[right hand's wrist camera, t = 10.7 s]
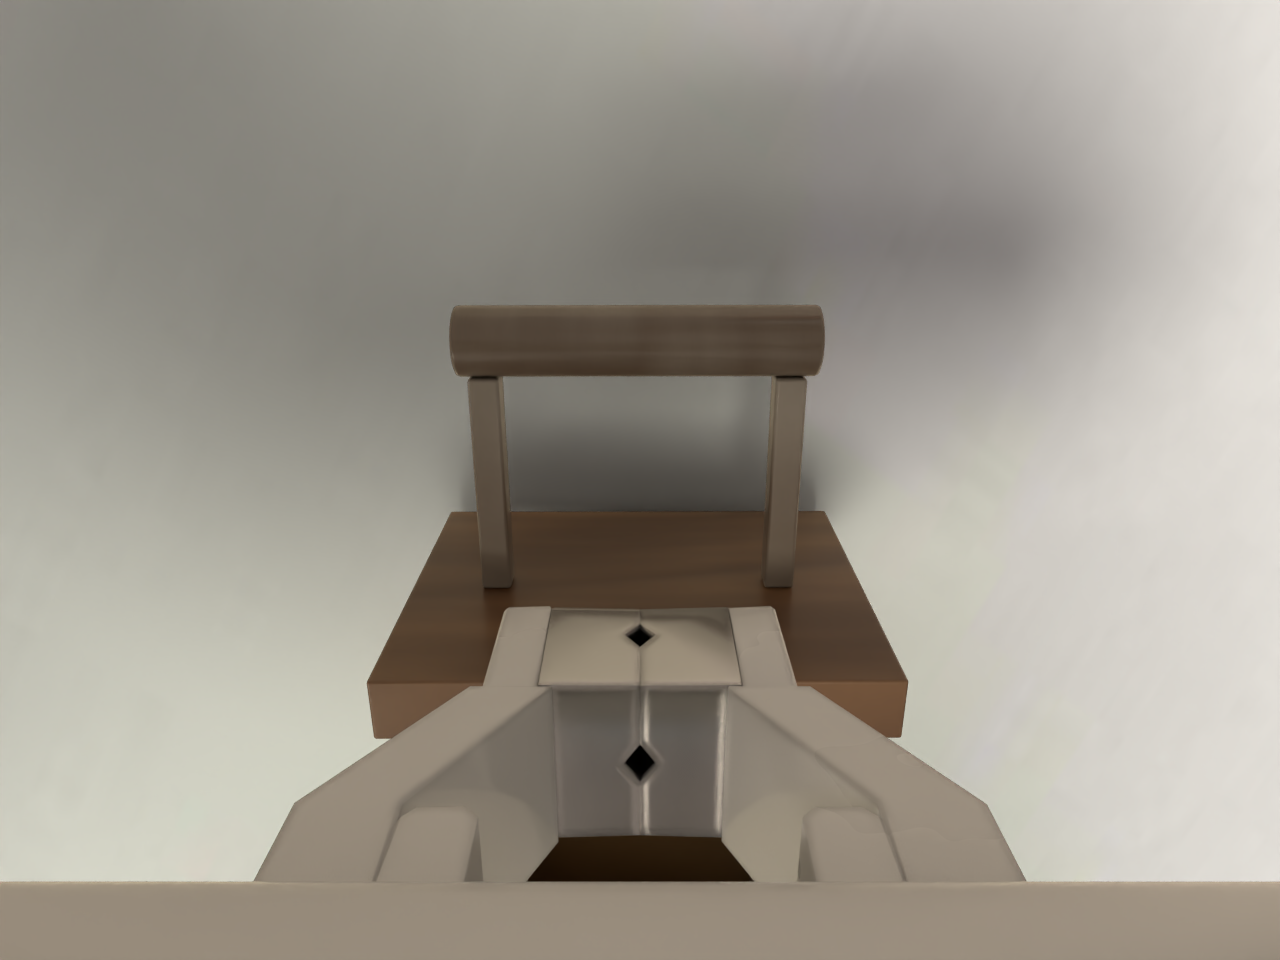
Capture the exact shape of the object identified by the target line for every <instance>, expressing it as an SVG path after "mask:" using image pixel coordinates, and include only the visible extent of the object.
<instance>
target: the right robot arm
mask: <svg viewBox="0 0 1280 960" xmlns="http://www.w3.org/2000/svg"><path fill="white" fill-rule="evenodd" d="M629 835H648V836H685V837H722V842H723V843H724V845H725V846H726V847H727V848H728V850H729V851H730V852H731V853H732V855H733V856H734V857H735V858H736V859H737V861H738V862H739V863H740V864H741V866H742V867H743V868H744V869H745V871H746V872H747V873H748V874H749V875H750V877H751V878H752V879H753V880H754V882H526V881H527V880H528V879H529V877H530V876H531V875H532V874H533V873H534V871H535V870H536V869H537V868H538V866H539V865H540V864H541V863H542V861H543V860H544V859H545V858H546V857H547V855H548V854H549V853H550V852H551V850H552V849H553V848H554V847H555V846H556V844H557V843H558V837H594V836H629ZM0 960H1280V882H1027V881H1026V879H1025V877H1024V875H1023V874H1022V872H1021V870H1020V868H1019V866H1018V864H1017V862H1016V860H1015V858H1014V856H1013V854H1012V852H1011V850H1010V848H1009V846H1008V845H1007V843H1006V841H1005V839H1004V837H1003V835H1002V833H1001V831H1000V829H999V827H998V825H997V823H996V821H995V819H994V817H993V815H992V814H991V812H990V810H989V808H988V806H987V804H985V803H984V802H982V801H981V800H979V799H978V798H976V797H975V796H974V795H972V794H971V793H969V792H968V791H966V790H965V789H963V788H962V787H960V786H959V785H957V784H956V783H954V782H953V781H951V780H950V779H948V778H947V777H945V776H944V775H942V774H941V773H939V772H938V771H936V770H935V769H933V768H932V767H930V766H929V765H927V764H926V763H924V762H923V761H921V760H920V759H918V758H917V757H915V756H914V755H912V754H911V753H909V752H908V751H906V750H905V749H903V748H902V747H900V746H899V745H897V744H896V743H894V742H893V741H891V740H890V739H888V738H887V737H885V736H884V735H882V734H881V733H879V732H878V731H876V730H875V729H873V728H872V727H870V726H869V725H867V724H866V723H864V722H863V721H861V720H860V719H858V718H857V717H855V716H854V715H852V714H851V713H849V712H848V711H846V710H845V709H843V708H842V707H840V706H839V705H837V704H836V703H834V702H833V701H831V700H830V699H828V698H827V697H825V696H824V695H822V694H821V693H819V692H818V691H816V690H815V689H813V688H812V687H810V686H797V683H796V680H795V676H794V673H793V670H792V666H791V663H790V659H789V656H788V652H787V649H786V646H785V642H784V639H783V635H782V632H781V628H780V625H779V622H778V618H777V615H776V611H775V609H774V608H772V607H771V606H760V607H738V608H728V607H715V608H673V609H623V608H569V607H554V608H553V609H552V608H551V607H550V606H540V607H509V608H507V609H506V610H505V611H504V614H503V617H502V621H501V624H500V628H499V631H498V635H497V638H496V641H495V645H494V648H493V652H492V655H491V659H490V662H489V666H488V669H487V673H486V676H485V680H484V683H483V686H470V687H468V688H467V689H465V690H464V691H462V692H461V693H459V694H458V695H456V696H455V697H453V698H452V699H450V700H449V701H447V702H446V703H444V704H443V705H441V706H440V707H438V708H437V709H435V710H434V711H432V712H431V713H429V714H428V715H426V716H425V717H423V718H422V719H420V720H419V721H417V722H416V723H414V724H413V725H411V726H410V727H408V728H407V729H405V730H404V731H402V732H401V733H399V734H398V735H396V736H394V737H393V738H391V739H390V740H388V741H387V742H385V743H384V744H382V745H381V746H379V747H378V748H376V749H375V750H373V751H372V752H370V753H369V754H367V755H366V756H364V757H363V758H361V759H360V760H358V761H357V762H355V763H354V764H352V765H351V766H349V767H348V768H346V769H345V770H343V771H342V772H340V773H339V774H337V775H336V776H334V777H333V778H331V779H330V780H328V781H327V782H325V783H324V784H322V785H321V786H319V787H318V788H316V789H315V790H313V791H312V792H310V793H309V794H307V795H306V796H304V797H303V798H301V799H300V800H298V801H297V802H295V803H294V805H293V807H292V809H291V811H290V812H289V814H288V816H287V818H286V820H285V822H284V824H283V826H282V828H281V830H280V832H279V833H278V835H277V837H276V839H275V841H274V843H273V845H272V847H271V849H270V851H269V853H268V855H267V856H266V858H265V860H264V862H263V864H262V866H261V868H260V870H259V872H258V874H257V876H256V877H255V879H254V881H253V882H0Z"/></svg>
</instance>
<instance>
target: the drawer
mask: <svg viewBox="0 0 1280 960" xmlns="http://www.w3.org/2000/svg"><path fill="white" fill-rule="evenodd" d="M449 344H450V355H451V361H452V365H453V369H454V371H455V373H456V375H458V376H460V377H470V378H469V379H468V382H467V384H468V398H469V411H470V424H471V438H472V451H473V464H474V478H475V491H476V505H477V512H451V514H450V516H449V518H448V520H447V522H446V524H445V526H444V528H443V530H442V532H441V534H440V536H439V538H438V540H437V542H436V544H435V546H434V548H433V550H432V552H431V554H430V556H429V558H428V560H427V562H426V564H425V566H424V568H423V570H422V572H421V574H420V576H419V578H418V580H417V582H416V584H415V586H414V588H413V590H412V592H411V594H410V596H409V598H408V600H407V602H406V604H405V606H404V608H403V610H402V612H401V614H400V616H399V618H398V620H397V622H396V624H395V626H394V629H393V631H392V633H391V635H390V637H389V639H388V641H387V643H386V645H385V647H384V649H383V651H382V653H381V655H380V657H379V659H378V661H377V663H376V665H375V667H374V669H373V671H372V673H371V675H370V677H369V679H368V681H367V688H368V695H369V703H370V710H371V718H372V725H373V732H374V737H375V738H376V739H391V738H393V737H394V736H396V735H398V734H399V733H401V732H402V731H404V730H405V729H407V728H408V727H410V726H411V725H413V724H414V723H416V722H417V721H419V720H420V719H422V718H423V717H425V716H426V715H428V714H429V713H431V712H432V711H434V710H435V709H437V708H438V707H440V706H441V705H443V704H444V703H446V702H447V701H449V700H450V699H452V698H453V697H455V696H456V695H458V694H459V693H461V692H462V691H464V690H465V689H467V688H468V687H470V686H483V683H484V680H485V676H486V673H487V669H488V666H489V662H490V659H491V655H492V652H493V648H494V645H495V641H496V638H497V635H498V631H499V628H500V624H501V621H502V617H503V614H504V611H505V610H506V609H507V608H509V607H540V606H550V607H551V608H552V609H553V608H554V607H569V608H623V609H673V608H715V607H728V608H738V607H760V606H771V607H772V608H774V609H775V611H776V615H777V618H778V622H779V625H780V628H781V632H782V635H783V639H784V642H785V646H786V649H787V652H788V656H789V659H790V663H791V666H792V670H793V673H794V676H795V680H796V683H797V686H810V687H812V688H813V689H815V690H816V691H818V692H819V693H821V694H822V695H824V696H825V697H827V698H828V699H830V700H831V701H833V702H834V703H836V704H837V705H839V706H840V707H842V708H843V709H845V710H846V711H848V712H849V713H851V714H852V715H854V716H855V717H857V718H858V719H860V720H861V721H863V722H864V723H866V724H867V725H869V726H870V727H872V728H873V729H875V730H876V731H878V732H879V733H881V734H882V735H884V736H885V737H887V738H899V737H901V734H902V726H903V719H904V711H905V703H906V695H907V688H908V680H907V678H906V676H905V674H904V672H903V670H902V668H901V666H900V664H899V662H898V659H897V657H896V655H895V653H894V651H893V649H892V647H891V645H890V643H889V641H888V639H887V637H886V635H885V633H884V631H883V629H882V627H881V625H880V623H879V621H878V619H877V617H876V615H875V613H874V611H873V609H872V607H871V605H870V603H869V601H868V599H867V597H866V595H865V593H864V591H863V588H862V586H861V584H860V582H859V580H858V578H857V576H856V574H855V572H854V570H853V568H852V566H851V564H850V562H849V560H848V558H847V556H846V554H845V552H844V550H843V548H842V546H841V544H840V542H839V540H838V538H837V536H836V534H835V532H834V530H833V528H832V526H831V524H830V522H829V519H828V517H827V515H826V513H825V512H824V511H798V505H799V491H800V477H801V462H802V448H803V434H804V419H805V405H806V391H807V380H806V378H805V377H804V376H815V375H817V374H818V373H819V371H820V369H821V366H822V362H823V356H824V346H825V326H824V318H823V313H822V310H821V308H820V306H818V305H458V306H456V307H454V309H453V311H452V314H451V319H450V328H449ZM552 376H772V383H771V401H770V419H769V437H768V456H767V474H766V492H765V511H648V512H511V508H510V491H509V474H508V458H507V441H506V424H505V407H504V391H503V377H552ZM526 882H754V880H753V879H752V878H751V877H750V875H749V874H748V873H747V872H746V871H745V869H744V868H743V867H742V866H741V864H740V863H739V862H738V861H737V859H736V858H735V857H734V856H733V855H732V853H731V852H730V851H729V850H728V848H727V847H726V846H725V845H724V843H723V842H722V837H685V836H648V835H629V836H594V837H558V843H557V844H556V846H555V847H554V848H553V849H552V850H551V852H550V853H549V854H548V855H547V857H546V858H545V859H544V860H543V861H542V863H541V864H540V865H539V866H538V868H537V869H536V870H535V871H534V873H533V874H532V875H531V876H530V877H529V879H528V880H527V881H526Z"/></svg>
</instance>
